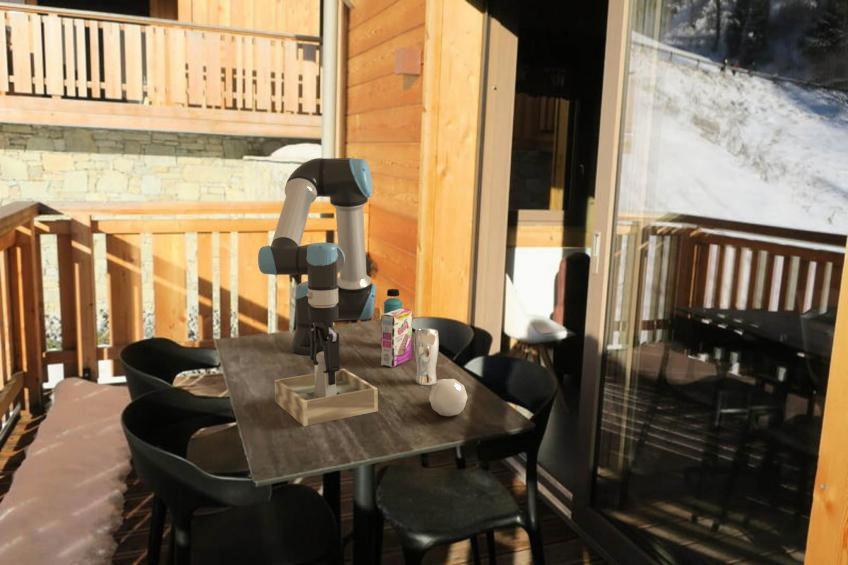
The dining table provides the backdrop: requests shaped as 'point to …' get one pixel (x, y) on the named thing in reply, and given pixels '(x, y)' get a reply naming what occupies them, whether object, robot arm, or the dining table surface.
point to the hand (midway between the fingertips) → (325, 392)
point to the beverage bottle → (392, 301)
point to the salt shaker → (320, 376)
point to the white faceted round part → (448, 397)
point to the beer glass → (426, 355)
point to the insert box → (325, 398)
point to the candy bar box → (396, 337)
